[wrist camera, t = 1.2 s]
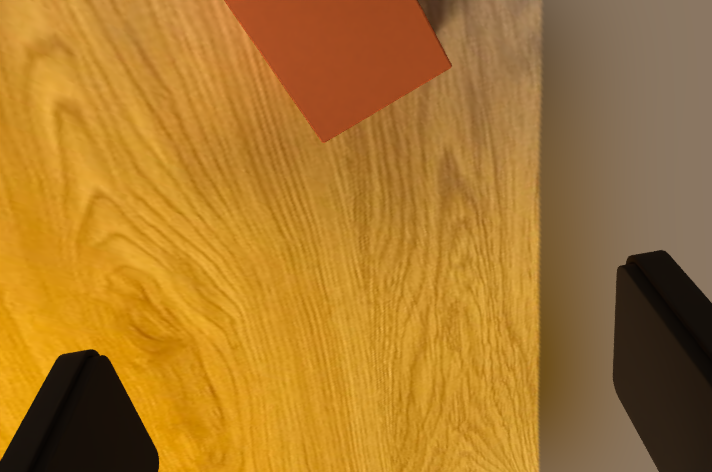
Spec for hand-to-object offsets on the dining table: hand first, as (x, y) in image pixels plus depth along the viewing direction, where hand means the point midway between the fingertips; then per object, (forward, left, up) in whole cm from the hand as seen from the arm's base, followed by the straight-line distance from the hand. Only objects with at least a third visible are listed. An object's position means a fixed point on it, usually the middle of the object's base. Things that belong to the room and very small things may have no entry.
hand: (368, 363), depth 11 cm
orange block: (-1, -4, -20) cm, 21 cm away
